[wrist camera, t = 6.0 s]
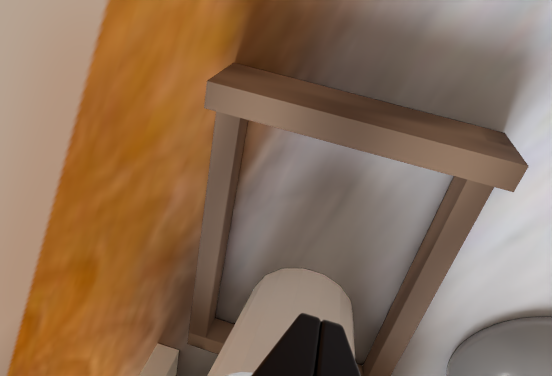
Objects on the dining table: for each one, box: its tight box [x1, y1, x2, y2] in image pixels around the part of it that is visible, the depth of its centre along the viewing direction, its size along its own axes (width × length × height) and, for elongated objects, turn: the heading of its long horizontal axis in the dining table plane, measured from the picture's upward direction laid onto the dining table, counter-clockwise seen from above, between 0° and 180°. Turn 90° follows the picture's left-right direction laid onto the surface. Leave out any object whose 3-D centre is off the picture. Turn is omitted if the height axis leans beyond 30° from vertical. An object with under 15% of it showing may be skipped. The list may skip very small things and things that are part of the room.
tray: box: [187, 63, 528, 376], centre depth 19 cm, size 11×16×3 cm
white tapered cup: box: [207, 268, 355, 376], centre depth 20 cm, size 7×7×7 cm
